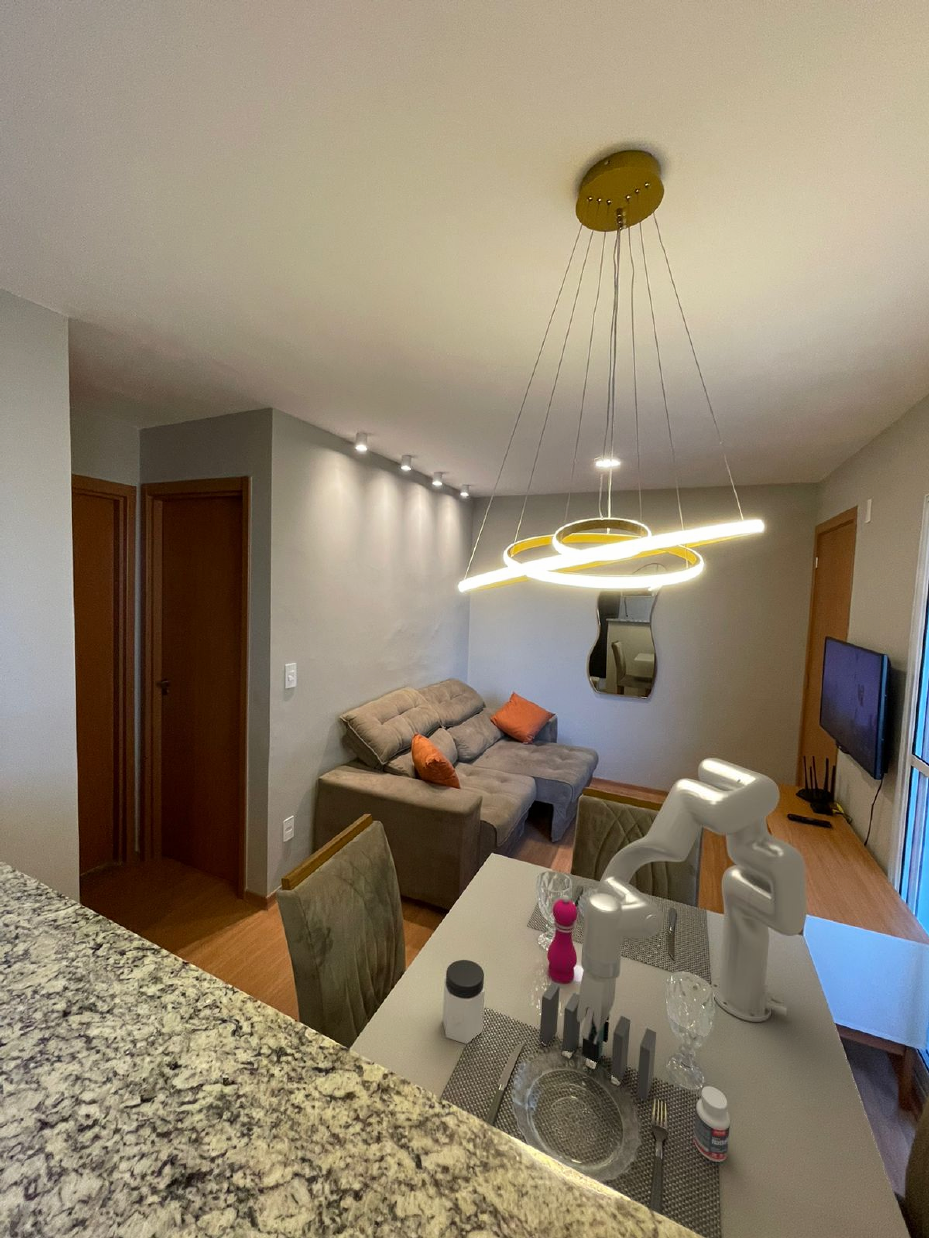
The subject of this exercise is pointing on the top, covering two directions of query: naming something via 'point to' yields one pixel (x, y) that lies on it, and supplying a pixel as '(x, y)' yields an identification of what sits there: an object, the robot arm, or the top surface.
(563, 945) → the pepper mill
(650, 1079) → the domino
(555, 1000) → the domino
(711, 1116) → the pill bottle
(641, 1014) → the top surface
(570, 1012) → the domino
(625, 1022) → the domino
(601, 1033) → the domino
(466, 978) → the jar
